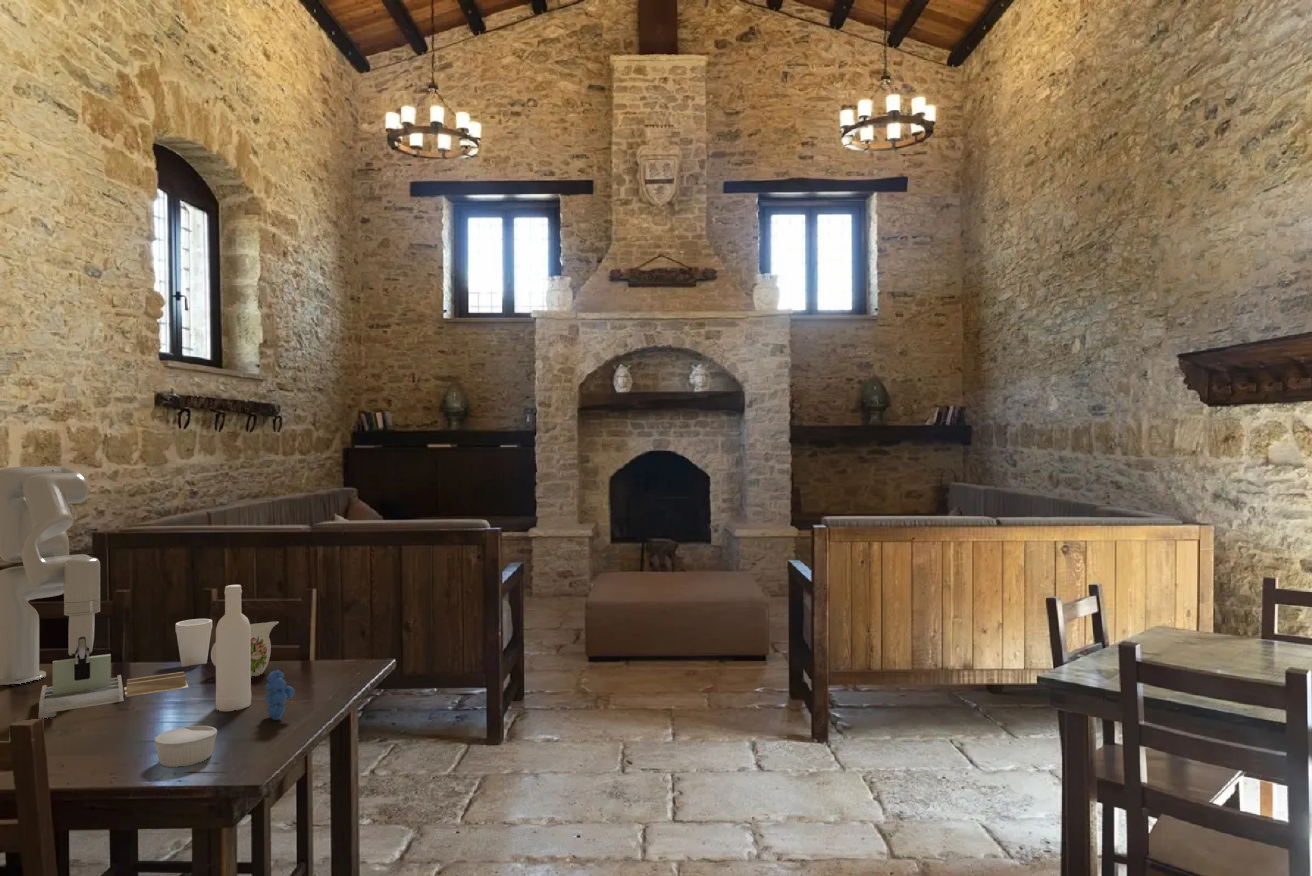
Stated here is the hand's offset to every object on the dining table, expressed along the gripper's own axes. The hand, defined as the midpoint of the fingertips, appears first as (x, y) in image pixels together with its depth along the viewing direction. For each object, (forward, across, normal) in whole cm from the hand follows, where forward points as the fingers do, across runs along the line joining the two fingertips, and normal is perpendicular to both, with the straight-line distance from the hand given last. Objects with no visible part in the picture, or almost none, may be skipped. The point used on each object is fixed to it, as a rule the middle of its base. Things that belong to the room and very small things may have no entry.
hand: (82, 674), depth 208 cm
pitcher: (+7, -5, +38) cm, 39 cm away
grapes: (+7, +42, +39) cm, 58 cm away
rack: (+7, 0, 0) cm, 7 cm away
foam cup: (+7, -25, +27) cm, 38 cm away
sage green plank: (+6, 0, 0) cm, 6 cm away
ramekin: (+8, +58, +18) cm, 61 cm away
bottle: (+7, +25, +31) cm, 41 cm away
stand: (+7, 0, +16) cm, 18 cm away
